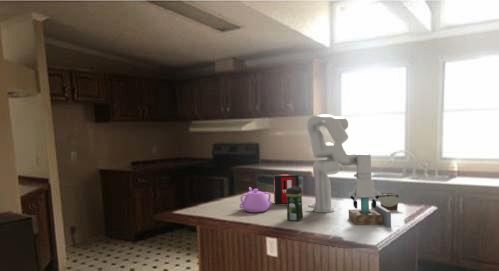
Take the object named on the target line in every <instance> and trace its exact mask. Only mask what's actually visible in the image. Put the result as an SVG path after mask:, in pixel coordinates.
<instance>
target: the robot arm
mask: <svg viewBox="0 0 499 271" xmlns="http://www.w3.org/2000/svg"><path fill="white" fill-rule="evenodd" d="M306 124H307V125H306V128H307V132H308V135H309V138H310V143H311V149H312V150H311V151H312V155H313V156H314V158H316V159H319V160H317V161H315V162H313V165H312V171H313V176H314V190H315V191H314V192H315V193H314V194H315V196H314V197H315V202H314V203H313V204H311V203H310V204H309V203H308V204H307V207H308V208H309V209H310V208H311V209H313V210H312V211H314V212H315V213H319V214H321V213H322V214H323V213H325V214H327V213H328V214H329V213H333V212H334V211H335V209H334V208H333V207H332V192H331V191H332V189H331V188H332V187H331V180H330V178H329V176H331V175H336V174H338V173H339V172H340V170H341V168H340V166H342V167H356V172H355V174H353V177H354V178H355V180H354V181H355V182H354V189H352V190H350V191H349V192H347V194H348V196H349V198H350V199H351V200H352V201H353V202H352V204H353V207H354V209H358V199H361V198H369V199H372V200H371V202H372V207H373V208H375V206H376V203H377V200H378V199H380V197H379V196H380V194H381V193H382V192H381V191H379V190H377V189H376V186H375V181H374V178H372V155H371V154H370V153H366V152H365V153H363V152H355V151H354V152H346V151H345V149H344V147H343V144H344V143H345V142H346V141H347V140H348V139H349V135H348V133H347V132H346V130H347V129H348V127H349V122H348V120H347V118H346V117H344V116H339V115H333V114H314V115H312V116H310V117H308V120H307V123H306ZM320 129H326V130H327V131H328V133H329V135H330V137H331V139H332V140H333V142H334V144H333V143H331V142H325V136H324V133H323V132H322V131H321V130H320ZM320 159H321V160H320ZM352 194H354V196H353V195H352Z"/></svg>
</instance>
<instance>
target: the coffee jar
mask: <svg viewBox="0 0 499 271" xmlns="http://www.w3.org/2000/svg"><path fill="white" fill-rule="evenodd" d="M302 190H303V189H302V187H301V186H299V187H297V186H293V187H291V188H288V189H287V190H286V195H287V205H286V219H287V220H288V221H290V222H295V221H297V222H298V221H301V220H302V219H303V217H304V215H303V214H304V213H303V198H302V197H303V191H302Z"/></svg>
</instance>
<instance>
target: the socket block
mask: <svg viewBox="0 0 499 271" xmlns="http://www.w3.org/2000/svg"><path fill="white" fill-rule="evenodd" d="M348 219H349V220H350V221H351V222H352V223H353V224H354V225H355V226H376V225H377V226H378V225H383V215H382V214H381V213H379V212H377V211H376V210H374V209H371V208H369V213H364V214H361V208H359V209H358V208H357V209H356V208H354V209H348Z"/></svg>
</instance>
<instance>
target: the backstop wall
mask: <svg viewBox="0 0 499 271" xmlns="http://www.w3.org/2000/svg"><path fill="white" fill-rule="evenodd" d="M370 206H371V208H370V209H374V210H376V211H377V212H379V213H381V214H382V215H383V225H384V226H385V227H386V228H392V214H391V213H392V212H391V210H387V209H385V208H383V207H382V206H381V204H378V203H377V202H376V206H375V208H373V207H372V201H371V202H370Z"/></svg>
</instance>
